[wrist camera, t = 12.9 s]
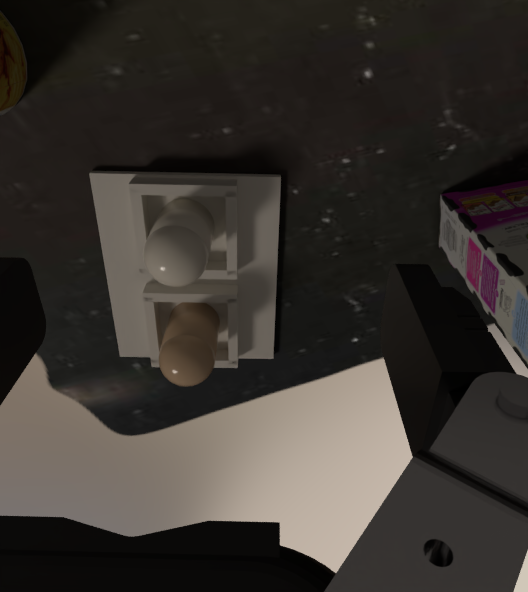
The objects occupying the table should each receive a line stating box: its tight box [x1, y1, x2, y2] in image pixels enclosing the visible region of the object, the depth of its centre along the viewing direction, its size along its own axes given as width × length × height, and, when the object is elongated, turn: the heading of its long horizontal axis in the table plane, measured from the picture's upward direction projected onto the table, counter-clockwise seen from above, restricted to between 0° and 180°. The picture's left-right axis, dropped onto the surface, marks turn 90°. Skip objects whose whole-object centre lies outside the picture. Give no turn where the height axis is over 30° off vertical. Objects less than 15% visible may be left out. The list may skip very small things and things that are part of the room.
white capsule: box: [143, 199, 215, 287], centre depth 34 cm, size 4×4×7 cm
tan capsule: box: [159, 302, 220, 386], centre depth 39 cm, size 4×4×7 cm
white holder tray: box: [89, 171, 281, 368], centre depth 39 cm, size 14×17×2 cm
